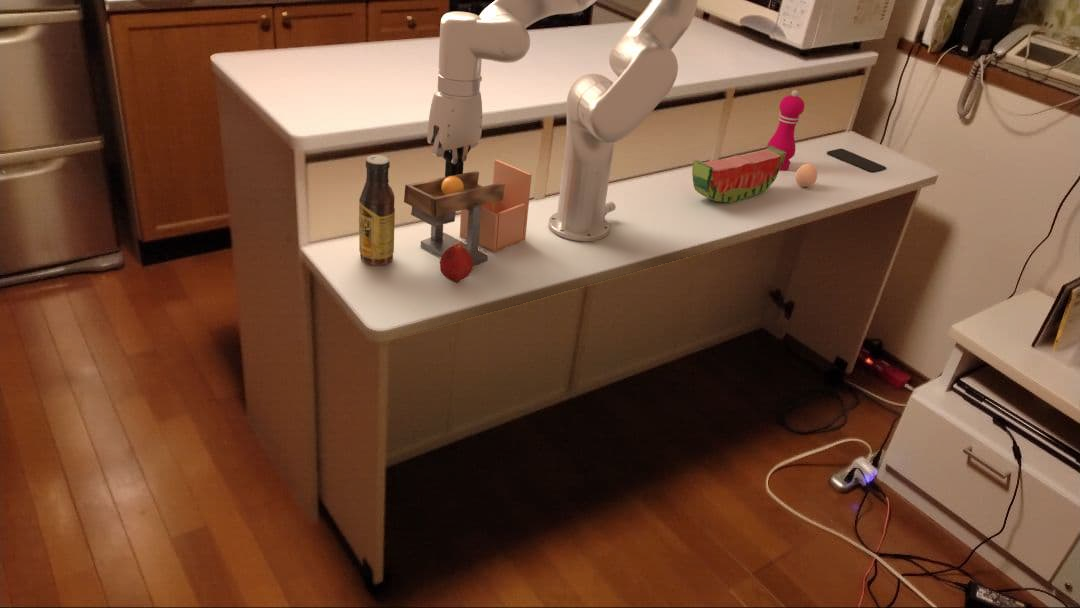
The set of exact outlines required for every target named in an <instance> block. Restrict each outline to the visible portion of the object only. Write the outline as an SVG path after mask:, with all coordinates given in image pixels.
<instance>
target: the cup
mask: <svg viewBox="0 0 1080 608" xmlns="http://www.w3.org/2000/svg"><path fill="white" fill-rule="evenodd" d="M493 163H494V164H493V177H492V179H493V180H492V185H493V184H497V183H505V189H504V196H503V200H500V201H496V202H492V203H488V204H484V205H481V221H480V236H479V247H480V248H482V249H483V250H485V251H487V252H489V253H491V254H495V253H497V252H501V251H503V250H505V249H506V248H510V247H511V246H514V245H516V244H519V243H521V242H523V241H525V240H526V235H527V226H528V216H529V206H530V195H531V185H532V184H531V183H532V175H533V174H532V173H529V172H527V171H525V170H522V169H520V168H518V167H515V166H513V165H510V164H508V163H506V162H504V161H501V160H500V159H494V162H493ZM468 212H469V211H468V210H466V209H464V210H460V225H459V226H460V227H459V237H461V238H463V239H465V240H466V241H467V230H468Z"/></svg>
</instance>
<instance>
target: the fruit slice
mask: <svg viewBox="0 0 1080 608" xmlns="http://www.w3.org/2000/svg"><path fill="white" fill-rule="evenodd" d="M785 155H786V152H784V151H782V150H779V149H777V148H775V147H773V146H767V145H766V148H765V149H763V150H760V151H756V152H749V153H748V154H743V155H739V154H736V155H732V156H731V157H727V158H722V159H714V160H708V161H705V162H702V161H701V160H698V159H696V160H695V159H694V160H693V163H692V173H691V175H692V183H693V188H694V190H695V191H696V192H697V193H698V194H700V195H702V196H704V197H705V198H708V199H709V200H711V201H713V202H718V203H728V204H731V203H736V202H740V201H743V200H747V199H748V198H750V197H755V196H756V195H759V194H760V193H763V192H765V191H766V190H768V189H769V187H771V186H772V185H773V184H774V182H775V181H776V179H777V177H778V174H779V172H780V171H781V170H780V168H781V166H782V164H783V161H784V158H785Z"/></svg>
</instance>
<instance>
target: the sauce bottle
mask: <svg viewBox="0 0 1080 608" xmlns="http://www.w3.org/2000/svg"><path fill="white" fill-rule="evenodd" d="M390 163H391V162H390V159H389V157H387V156H385V155H380V154H373V155H368V157H366V159H365V168H366V179H365V183H364V186H363V189H362V192H361V194H360V197H359V199H358V200H359V202H358V205H359V206H358V211H359V213H358V215H359V216H358V223H359V224H358V225H359V227H358V231H359V236H358V238H359V239H358V240H359V243H358V244H359V247H358V248H359V249H358V250H359V253H360V254H359V257H360V260H361V261H362V262H363V263H366V264H367V265H368V266H383V265H386V264H389V263H391V262H392V261H393V257H394V253H395V251H394V250H395V222H396V221H395V218H396V217H395V215H396V209H395V194H394V191H393V188H392V186H390V184H389V183H390V180H389V169H390V166H391V165H390Z"/></svg>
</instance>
